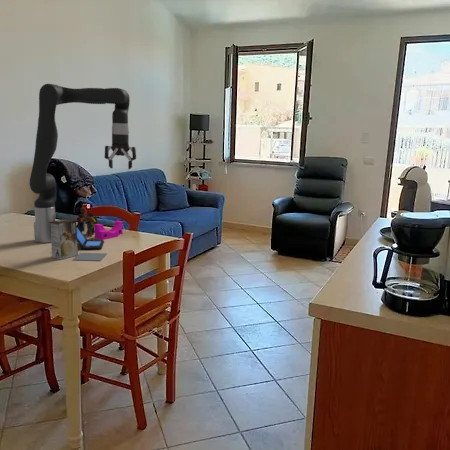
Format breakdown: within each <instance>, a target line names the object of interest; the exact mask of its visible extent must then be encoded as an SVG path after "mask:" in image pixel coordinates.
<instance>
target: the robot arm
mask: <svg viewBox="0 0 450 450" xmlns="http://www.w3.org/2000/svg"><path fill="white" fill-rule="evenodd" d="M38 92H39V94H38V119H37V129H36V136H35V148H34V155H33V163H32V169H31V171H30V172H31V173H30V178H29V189H30V190H31V191H32V192H33V193H34V194H39V195H38V198H36V199H35V201H34V202H33V203H34V219H35V221H34V222H33V234H34V242H35V243H36V242H37V243H40V244H43V243H45V244H46V243H51V229H50V222H52V221H56V205H55V203H56V201H57V182H56V179H55V177H54V175H52V174H51V173H47V172H48V167H49V164H50V162H51V160H52V158H53V156H54V155H55V152H56V150H57V145H58V140H59V139H58V137H59V135H58V133H59V132H58V129H57V123H56V118H55V117H56V109H57V106H58V105H63V104H64V105H65V104H70V103H71V104H72V103H80V104H81V103H82V104H88V105H106V104H110V105H114V110H113V111H112V113H111V115H112V117H111V118H112V119H111V120H112V125H111V146H109V145H104V159H105V160H108V167H109V168H110V169H113V168H114V167H113V165H114V163H113V159H114V157H117V156H118V157H119V156H122V157H123V156H125V157H126V159H128V164H127V165H128V166H127V167H128V170H131V169H132V168H133V161H135V160H136V159H137V147H135V146H130V145H129V141H130V140H129V133H130V132H129V109H130V101H131V100H130V94H129V92H128V91H127V90H126V89H123V88H119V87H107V88H102V87H82V88H70V87H64V86H60V85H59V84H54V83H45V84H43V85H42V86H40V89H39V91H38ZM110 150H111V151H112V153H111V154H110V156H109V153H110V152H109V151H110ZM129 151H131V152H132V156H131V155H130V154H129Z"/></svg>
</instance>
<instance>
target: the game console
mask: <svg viewBox="0 0 450 450" xmlns="http://www.w3.org/2000/svg"><path fill="white" fill-rule="evenodd" d="M104 243H105V240H100V239H88V238H87V237H85V235H84V234H83V233H82V232H81V231H80V230H79V228H78V227H77V244H79V246H80V250H81V251H96V250H97V251H100V250H102V249H103V247H104Z"/></svg>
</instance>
